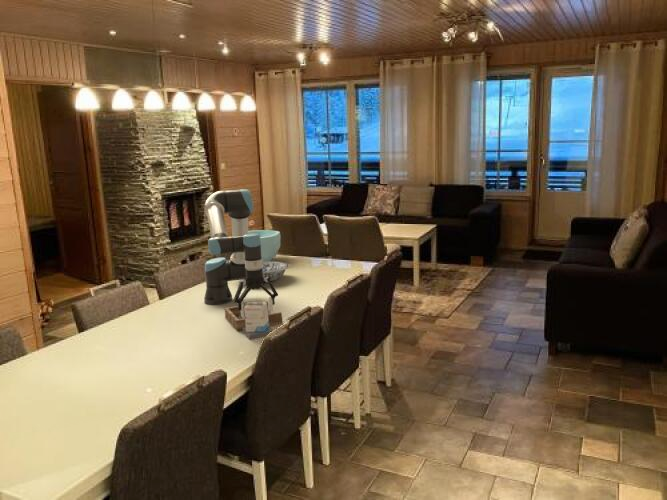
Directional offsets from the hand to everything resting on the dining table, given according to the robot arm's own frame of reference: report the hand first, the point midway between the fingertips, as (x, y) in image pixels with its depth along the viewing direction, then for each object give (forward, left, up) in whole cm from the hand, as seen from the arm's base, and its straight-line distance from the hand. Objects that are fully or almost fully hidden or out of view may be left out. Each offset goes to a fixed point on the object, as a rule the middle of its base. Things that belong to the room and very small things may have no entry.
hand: (257, 314), depth 256 cm
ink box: (0, 0, -7) cm, 7 cm away
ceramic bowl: (-91, +30, -9) cm, 96 cm away
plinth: (0, 0, -9) cm, 9 cm away
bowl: (-138, +41, -9) cm, 144 cm away
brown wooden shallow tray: (-19, +3, -9) cm, 21 cm away
